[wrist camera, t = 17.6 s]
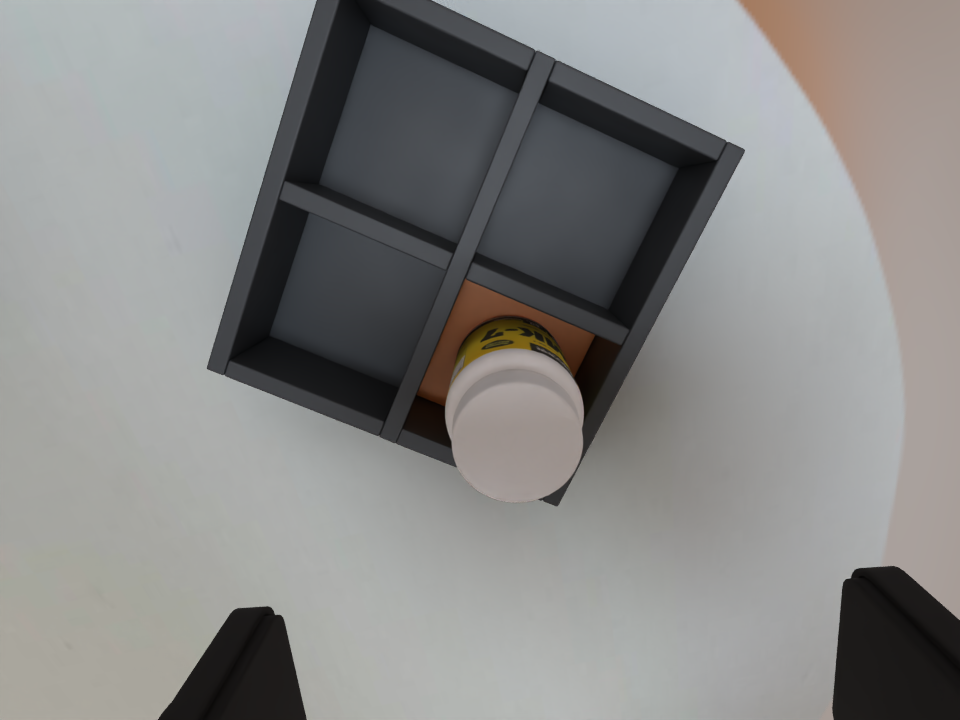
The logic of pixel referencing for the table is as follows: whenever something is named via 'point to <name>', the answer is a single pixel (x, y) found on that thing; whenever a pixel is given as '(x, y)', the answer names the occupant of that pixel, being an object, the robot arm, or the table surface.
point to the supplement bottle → (514, 411)
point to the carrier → (455, 219)
